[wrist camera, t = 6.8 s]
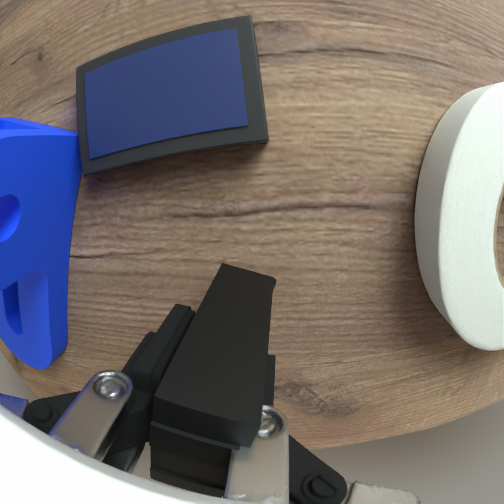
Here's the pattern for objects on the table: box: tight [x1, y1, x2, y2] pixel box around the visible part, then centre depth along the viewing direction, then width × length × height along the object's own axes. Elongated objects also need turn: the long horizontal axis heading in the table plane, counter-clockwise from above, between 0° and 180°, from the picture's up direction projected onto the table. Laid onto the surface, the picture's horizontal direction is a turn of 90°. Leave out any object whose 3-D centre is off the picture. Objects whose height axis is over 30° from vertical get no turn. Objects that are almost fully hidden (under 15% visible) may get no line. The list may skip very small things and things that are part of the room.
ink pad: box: [76, 15, 269, 176], centre depth 11 cm, size 9×6×2 cm, turn 96°
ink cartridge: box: [149, 263, 276, 498], centre depth 9 cm, size 5×2×8 cm, turn 164°
